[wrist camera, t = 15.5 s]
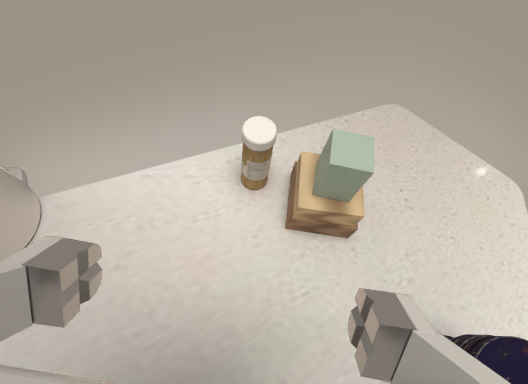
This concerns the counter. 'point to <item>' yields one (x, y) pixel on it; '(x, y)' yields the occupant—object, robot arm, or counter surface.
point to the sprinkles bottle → (257, 151)
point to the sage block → (343, 165)
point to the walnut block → (313, 225)
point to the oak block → (322, 198)
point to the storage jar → (498, 354)
